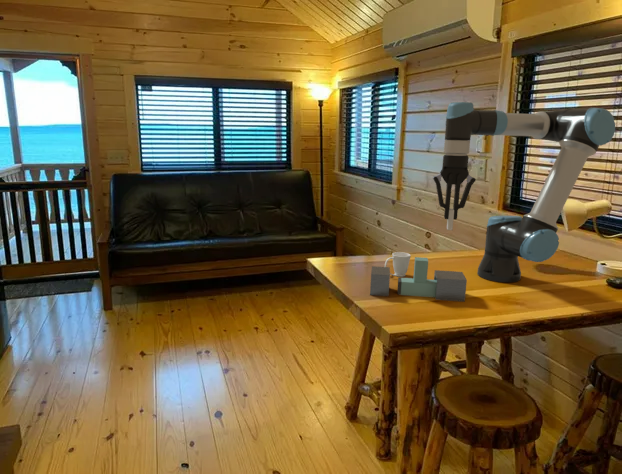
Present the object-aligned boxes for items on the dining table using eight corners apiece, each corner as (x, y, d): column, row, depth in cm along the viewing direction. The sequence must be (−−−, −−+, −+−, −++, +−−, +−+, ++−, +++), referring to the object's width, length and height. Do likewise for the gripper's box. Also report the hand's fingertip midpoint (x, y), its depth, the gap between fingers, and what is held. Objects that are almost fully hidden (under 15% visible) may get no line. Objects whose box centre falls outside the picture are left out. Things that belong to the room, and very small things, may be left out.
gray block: (460, 292, 159) (462, 271, 157) (464, 301, 150) (466, 280, 149) (433, 290, 160) (434, 270, 158) (435, 299, 152) (437, 278, 150)
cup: (413, 277, 174) (414, 256, 172) (388, 279, 171) (390, 257, 169) (403, 271, 181) (405, 251, 179) (380, 273, 178) (381, 252, 176)
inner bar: (461, 294, 157) (464, 259, 154) (463, 299, 152) (467, 263, 150) (397, 290, 160) (399, 256, 157) (397, 294, 155) (399, 259, 153)
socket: (388, 287, 162) (389, 267, 161) (388, 296, 154) (389, 275, 152) (370, 286, 163) (371, 266, 162) (370, 294, 155) (371, 274, 153)
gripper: (475, 154, 148) (468, 227, 153) (433, 153, 149) (427, 225, 155) (480, 155, 140) (472, 232, 146) (435, 154, 142) (429, 230, 148)
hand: (449, 229), depth 150 cm, fingers closed
